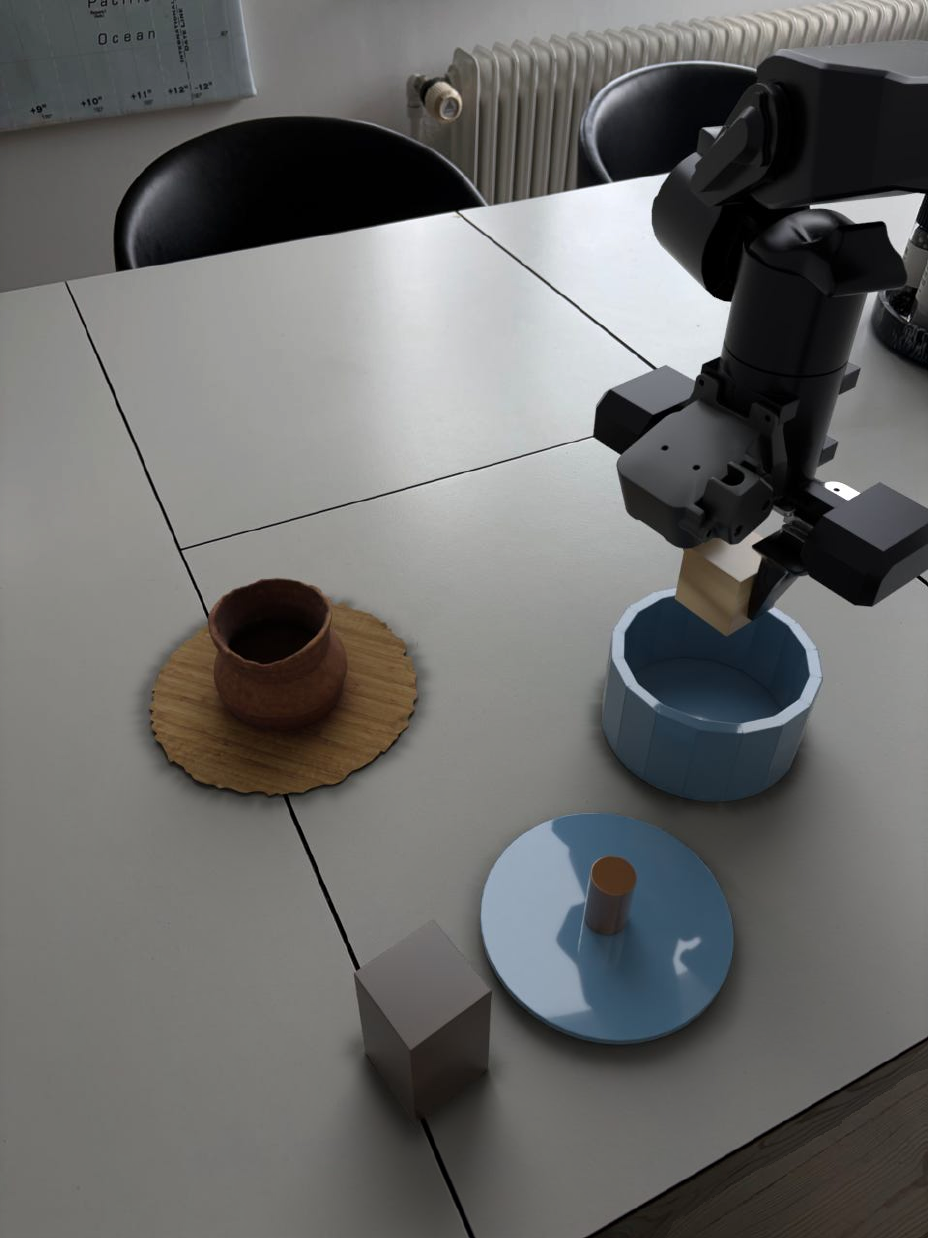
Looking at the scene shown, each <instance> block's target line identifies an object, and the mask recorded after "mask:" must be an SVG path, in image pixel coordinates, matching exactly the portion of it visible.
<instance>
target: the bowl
mask: <svg viewBox="0 0 928 1238" xmlns="http://www.w3.org/2000/svg"><path fill="white" fill-rule="evenodd" d="M676 589H677V587H673V588H668V589H662V590H657V591H654V592H652V593H650V594H649V595H647V596H645V597H643V598H642V599H640V600H638V601H636V602H634V603H633V604H631V605H629V606H628V607H627V609H626V610H625V612H624V613H623V614H622V615H621V617H620V619H619V620H618V621H617V623H616V625H614V627H613V628H612V631H611V637H610V643H609V650H608V658H607V664H606V671H605V678H604V686H603V692H602V706H601V707H602V709H601V724H602V728H603V729H602V730H603V733H604V736H605V738H606V741H607V743H608V745H609V746H610V748H611V750H612V751H613V753H614V754H615V756H616V757H617V758H618V759H619V761H620V762H621V763H622V764H623V765H624V766H625V767H626V769H628V770H629V771H630V772H631V773H633V774H634V775H635V776H637V777H638V778H639V779H640V780H642V781H644V782H646V783H647V784H648V785H650V786H653V787H655V788H656V789H658V790H660V791H663V792H665V793H668V794H671V795H673V796H677V797H679V798H684V799H688V800H692V801H700V802H711V803H712V802H713V803H717V802H731V801H738V800H743V799H747V798H749V797H753V796H755V795H758V794H761V793H763V792H764V791H766V790H768V789H770V788H771V787H772V786H774V785H775V784H776V783H777V782H779V781H780V780H781V779H783V778H784V775H786V773H788V771H789V770H790V769H791V766H792V764H793V762H794V760H795V758H796V754H797V752H798V750H799V747H800V745H801V742H802V741H803V737H804V734H805V732H806V729H807V727H808V723H809V720H810V718H811V715H812V712H813V710H814V707H815V704H816V701H817V698H818V695H819V692H820V690H821V687H822V684H823V681H824V675H823V670H822V664H821V658H820V653H819V649H818V647H817V646H816V644H815V643H814V642H813V640H812V639H811V637H810V636H809V635H808V634H807V632H806V631H805V630H804V628H803V627H802V626H801V624H800V623H799V622H798V621H797V620H795V619H794V618H792V617H791V616H789V615H788V614H787V613H785V612H783V611H782V610H780V609H779V608H778V607H776V605H774V607H773V608H772V609H770V610H769V611H767V612H766V613H765V614H763V615H762V616H761V617H759V618H757V619H756V620H754V621H751V622H749V623H748V624H746V625H745V626H743V627H741V628H740V629H738V630H737V631H735V632H733V633H732V634H730V635H729V636H725V635H724V634H722V633H721V632H720V631H718V630H717V629H715V628H714V627H713V626H711V625H710V624H709V623H707V622H706V621H704V620H703V619H702V618H700V617H699V616H698V615H696V614H695V613H693V612H692V611H691V610H689V609H688V608H687V607H685V606H684V605H683V604H681V603H680V602H678V601H677V600H676V599H675V594H676Z"/></svg>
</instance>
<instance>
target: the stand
mask: <svg viewBox="0 0 928 1238" xmlns="http://www.w3.org/2000/svg"><path fill="white" fill-rule="evenodd" d="M353 979H354V985H355V993H356V999H357V1006H358V1012H359V1013H358V1014H359V1020H360V1027H361V1033H362V1040H363V1047H364V1052H365V1053H366V1055H367V1056H368V1058H369V1060H370V1061H371V1062H372V1064H373V1065H374V1067H375V1068H376V1069H377V1071H378V1072H379V1074H380V1075H381V1077H382V1078H383V1079H384V1081H385V1082H386V1084H387V1085H388V1086H389V1088H390V1090H391V1091H392V1093H393V1094H394V1095H395V1097H396V1098H397V1100H398V1101H399V1103H400V1104H401V1105H402V1107H403V1108H404V1110H405V1111H406V1113H407V1115H408V1116H409V1117H410V1119H411V1120H412V1122H413V1123H414V1124H415V1125H418V1124H419V1123H420V1122H422V1120H424V1119H425V1118H426V1117H428V1116H429V1115H430V1114H432V1113H433V1112H434V1111H435V1110H437V1109H438V1108H439V1107H440V1106H442V1105H443V1104H444V1103H446V1102H447V1101H448V1100H449V1099H451V1098H452V1097H453V1096H454V1095H456V1094H457V1093H458V1092H459V1091H461V1090H462V1089H463V1088H465V1087H466V1086H467V1085H469V1084H470V1083H471V1082H473V1081H474V1080H475V1079H476V1078H478V1077H479V1076H480V1075H481V1074H483V1073H484V1072H485V1071H487V1070H488V1069H489V1060H490V1040H491V1019H492V1018H491V1017H492V995H493V991H492V989H491V988H490V987H489V985H488V984H487V983H486V982H485V980H484V979H483V978H482V977H481V976H480V974H479V973H478V972H477V971H476V969H475V968H474V967H473V966H472V965H471V963H470V962H469V961H468V960H467V959H466V957H465V956H464V955H463V953H462V952H461V951H460V950H459V949H458V948H457V947H456V945H455V944H454V943H453V941H452V940H451V939H450V937H449V936H448V935H447V934H446V933H445V932H444V930H443V929H442V928H441V927H440V926H439V924H438V923H437V922H436V921H435V920H434V919H431V920H429V921H428V922H427V923H424V925H422V926H420V927H419V928H417V930H415V931H414V932H412V933H410V934H409V935H407V936H406V937H405V938H403V939H401V940H400V941H399V942H397V943H396V944H394V945H392V946H391V947H390V948H388V949H387V950H385V951H383V952H382V953H380V954H379V955H378V956H376V957H374V958H373V959H372V960H371V961H369V962H368V963H366V964H365V965H363V966H362V967H360V968H358V969H357V970H356V971H354V972H353Z"/></svg>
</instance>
